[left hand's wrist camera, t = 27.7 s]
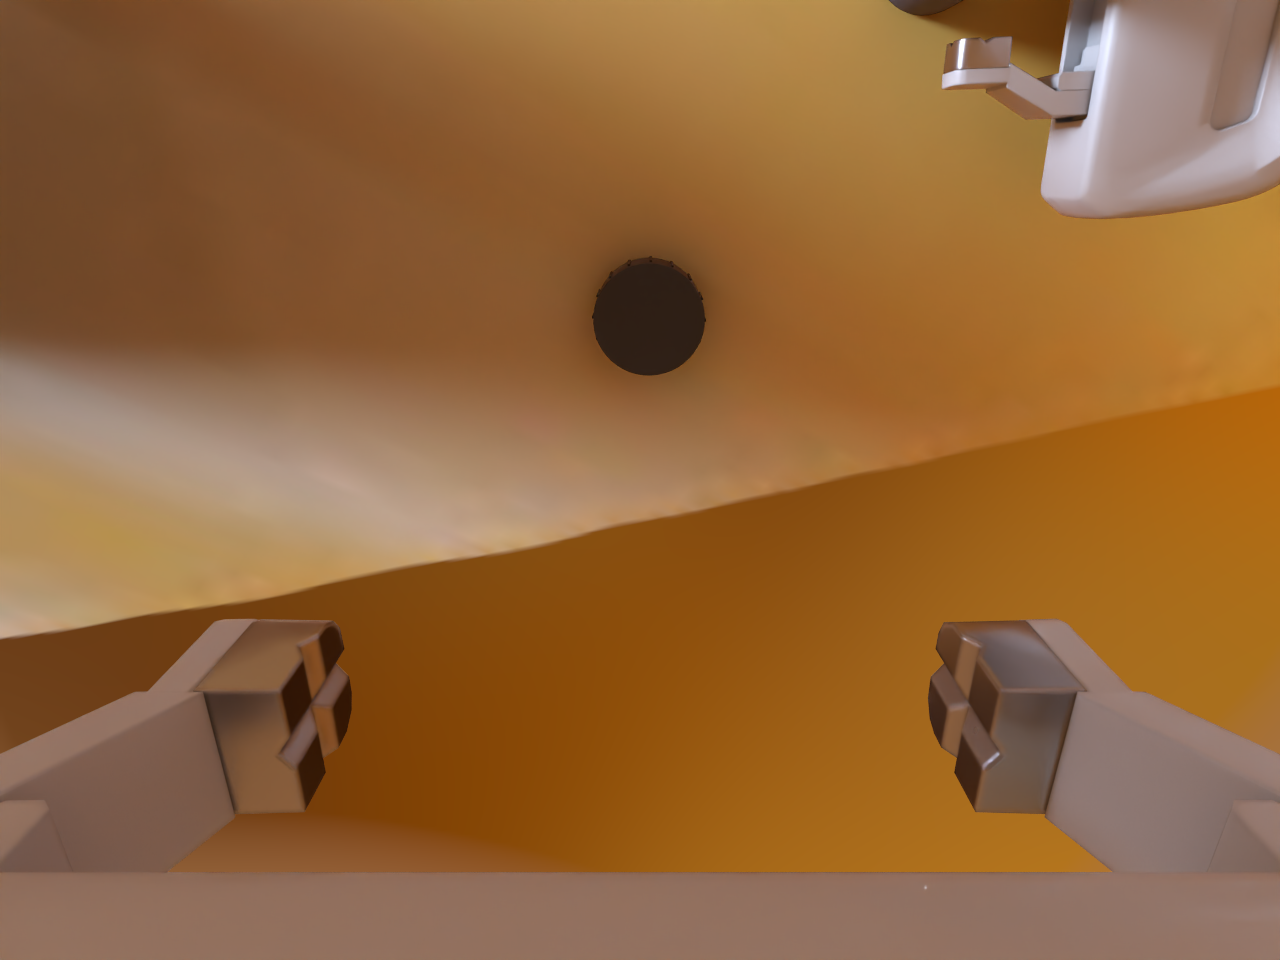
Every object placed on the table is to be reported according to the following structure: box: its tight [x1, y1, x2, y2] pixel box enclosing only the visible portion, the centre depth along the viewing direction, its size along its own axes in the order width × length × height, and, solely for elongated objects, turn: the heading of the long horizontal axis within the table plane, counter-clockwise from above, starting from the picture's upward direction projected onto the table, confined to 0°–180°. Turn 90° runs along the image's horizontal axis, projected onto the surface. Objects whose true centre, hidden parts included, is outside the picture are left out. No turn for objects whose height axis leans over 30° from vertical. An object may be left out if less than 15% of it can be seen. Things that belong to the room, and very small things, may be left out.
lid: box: [592, 256, 706, 375], centre depth 35 cm, size 5×5×2 cm
